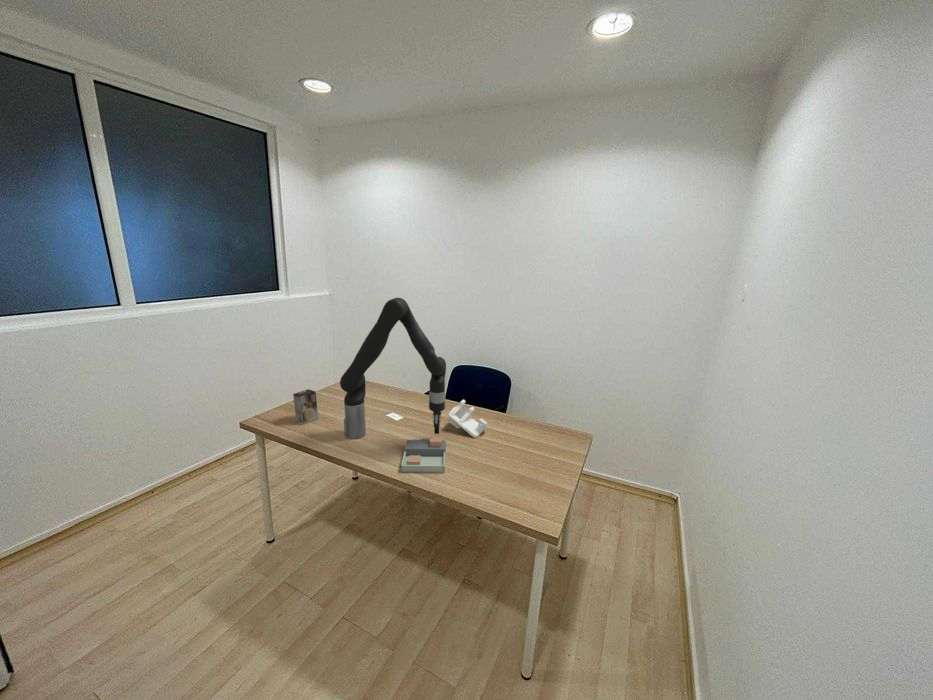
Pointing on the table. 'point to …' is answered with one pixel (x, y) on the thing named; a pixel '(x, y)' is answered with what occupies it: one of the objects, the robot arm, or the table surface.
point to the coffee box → (305, 406)
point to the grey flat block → (424, 448)
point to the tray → (424, 464)
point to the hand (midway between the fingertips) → (436, 433)
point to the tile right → (435, 441)
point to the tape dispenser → (466, 420)
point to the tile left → (414, 460)
